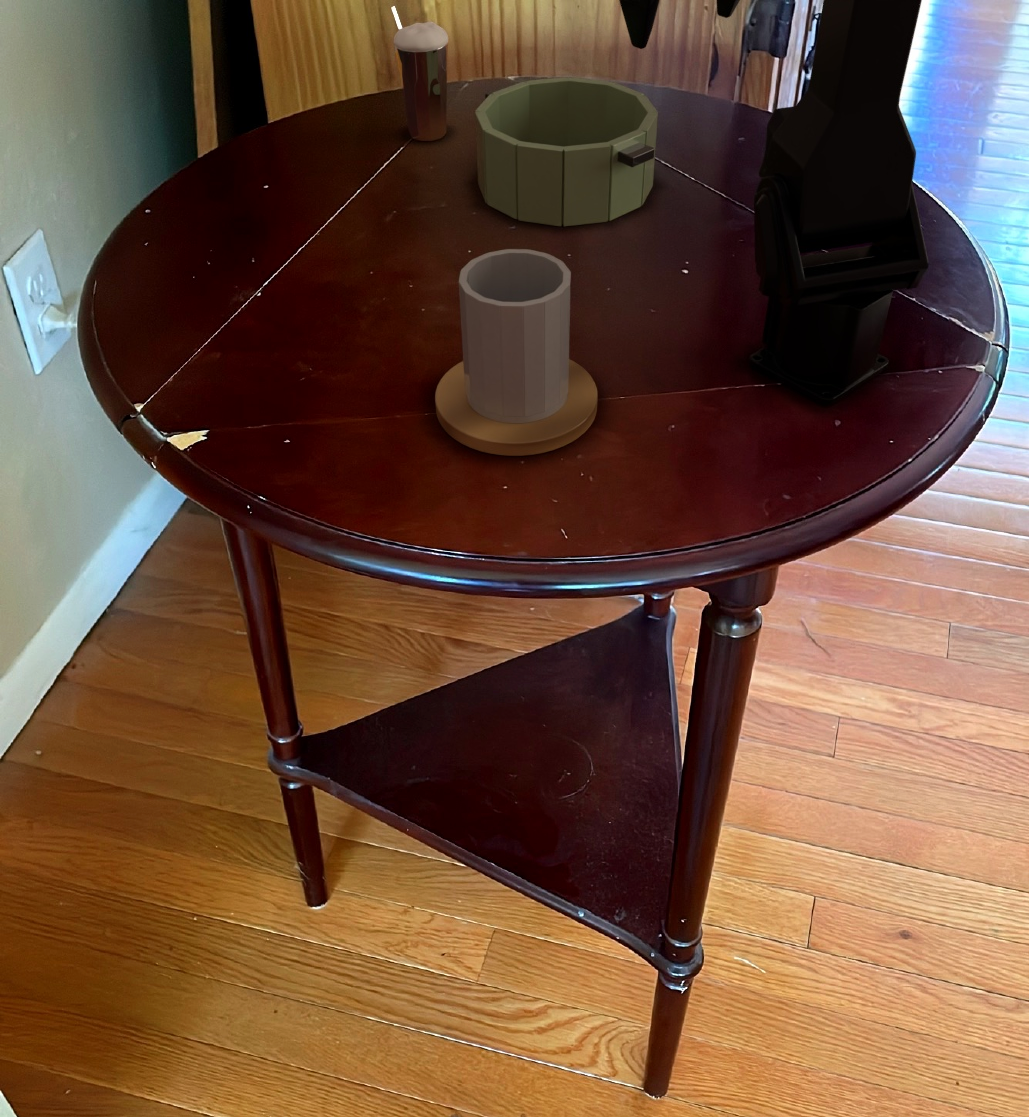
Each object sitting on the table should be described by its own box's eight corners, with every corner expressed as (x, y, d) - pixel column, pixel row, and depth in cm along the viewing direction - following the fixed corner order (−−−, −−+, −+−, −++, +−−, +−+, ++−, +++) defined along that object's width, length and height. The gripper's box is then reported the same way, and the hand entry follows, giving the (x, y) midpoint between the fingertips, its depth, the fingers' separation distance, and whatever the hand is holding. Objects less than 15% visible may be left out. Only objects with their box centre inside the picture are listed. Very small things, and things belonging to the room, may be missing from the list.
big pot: (699, 192, 90) (707, 118, 86) (575, 250, 84) (576, 173, 79) (556, 129, 99) (557, 59, 95) (434, 177, 93) (429, 105, 89)
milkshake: (420, 116, 102) (411, -1, 95) (464, 132, 99) (458, 12, 92) (384, 133, 99) (373, 13, 92) (428, 149, 97) (419, 27, 90)
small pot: (589, 394, 69) (593, 277, 63) (512, 437, 66) (510, 318, 60) (521, 352, 72) (519, 237, 67) (445, 391, 69) (436, 275, 64)
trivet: (630, 408, 69) (631, 395, 69) (509, 479, 65) (508, 465, 64) (522, 342, 75) (522, 330, 74) (403, 403, 70) (402, 390, 69)
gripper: (705, -257, 81) (686, -22, 91) (510, -220, 72) (514, 35, 83) (832, -238, 74) (795, 11, 85) (636, -195, 66) (622, 76, 77)
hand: (682, 31), depth 83 cm, fingers open, 9 cm apart
